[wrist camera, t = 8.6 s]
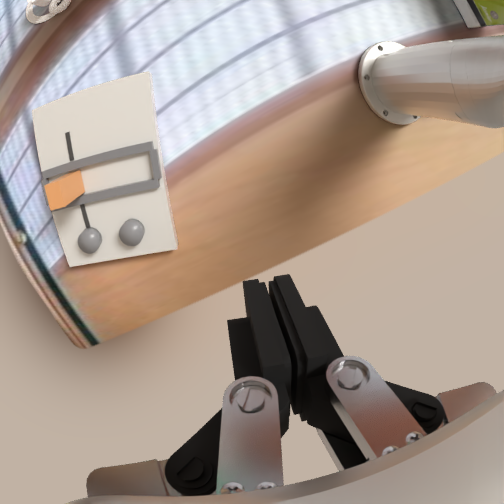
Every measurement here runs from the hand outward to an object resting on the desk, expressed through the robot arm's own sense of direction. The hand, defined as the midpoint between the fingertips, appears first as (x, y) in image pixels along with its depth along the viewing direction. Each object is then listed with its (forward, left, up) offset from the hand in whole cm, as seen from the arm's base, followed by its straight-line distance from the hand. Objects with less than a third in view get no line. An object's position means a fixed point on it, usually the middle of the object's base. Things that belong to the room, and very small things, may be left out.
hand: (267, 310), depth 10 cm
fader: (+18, -3, -25) cm, 30 cm away
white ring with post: (+22, -28, -27) cm, 45 cm away
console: (+15, -3, -27) cm, 31 cm away
